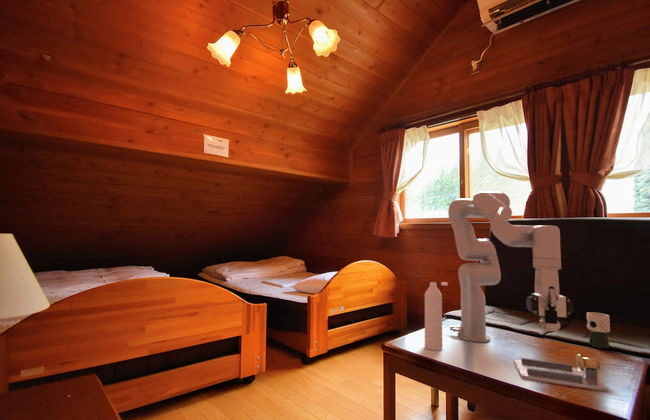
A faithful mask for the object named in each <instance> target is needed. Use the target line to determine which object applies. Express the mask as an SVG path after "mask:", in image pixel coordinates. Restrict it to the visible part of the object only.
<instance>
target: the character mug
mask: <svg viewBox="0 0 650 420" xmlns="http://www.w3.org/2000/svg"><path fill="white" fill-rule="evenodd" d="M586 320H587V323H586V328H587V330H589V331H590V332H589V338H588V345H589V346H591V347H593V348H598V349H601V350H603V349H610V343H609V338H608V334H607V333H610V332H611V323H610V322H611V321H610V315H609V314H605V313H601V312H594V311H593V312H588V311H587V312H586Z"/></svg>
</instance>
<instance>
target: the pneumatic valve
mask: <svg viewBox="0 0 650 420" xmlns="http://www.w3.org/2000/svg"><path fill="white" fill-rule="evenodd" d="M556 299H557V297H556ZM547 300H550V298H547ZM548 303H549V302H548ZM556 304H557V318H569V315H570V314H572V313H573V312H574V305H573V302H572V300H571V299H570V298H569V297H568V296H565V295H563V294H559V300H558V301H557V303H556ZM525 305H526V309H527V310H528V311H529V312H530V313H531V314H533V315H535V316H538V317H540V316H545V310H546V306H545V299H544V300H541V299H540V296H539V295H538V294H535V292H533V293H530V296H528V297H526V299H525ZM538 325H539V328H541V329H543V330H544V331H546V332H559V330H560V329H561V322H559V321H558V320H557V324H550V323H546V322H545V318H540V319H539V321H538Z"/></svg>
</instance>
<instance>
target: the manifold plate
mask: <svg viewBox="0 0 650 420" xmlns="http://www.w3.org/2000/svg"><path fill="white" fill-rule="evenodd" d="M574 359H575V360H574V361H575V365H576V367H573V365H572V364H571V363H566V362H565V363H564V362H558V361H552V360H551V361H550V360H543V359H542V360H541V359H534V358H528V357H527V358H526V357H521V358H520V359H513V364H514V365H515V368H516V370H517V372H518V374H519V376H520V378H521V380H522V379H523V380H529V381H535V382H536V381H537V382H542V383H549V384H554V385H555V384H556V385H562V386H569V387H575V388H581V389H589V390H595V391H601V392H607V386H605V385H604V384H603V383H602V382H601V381H600V380H599V379H598V371H600V370H601V363H600V360H599V358H592V357H583V355H582V354H581V353H576V354H575V358H574Z"/></svg>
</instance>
